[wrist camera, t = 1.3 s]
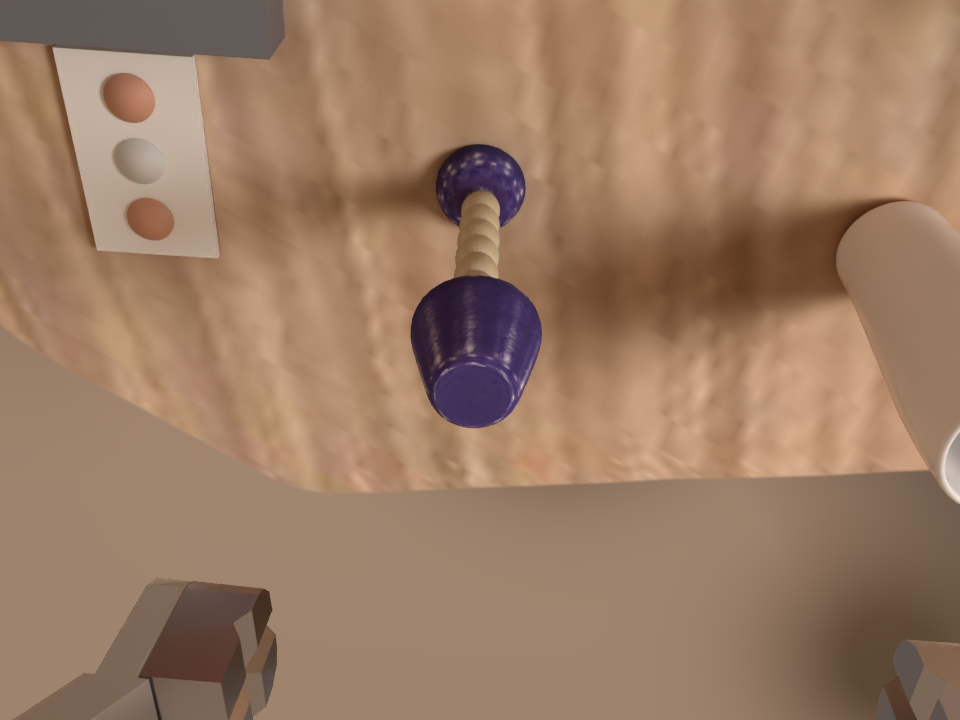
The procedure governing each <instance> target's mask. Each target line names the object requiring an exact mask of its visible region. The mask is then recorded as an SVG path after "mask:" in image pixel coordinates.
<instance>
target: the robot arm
mask: <svg viewBox="0 0 960 720" xmlns="http://www.w3.org/2000/svg"><path fill="white" fill-rule="evenodd" d="M271 612H272V605H271V599H270V593H269V591H267V590H265V589H262V588H252V587H243V586H233V585H225V584H215V583H206V582H196V581H193V582H189V581H179V580H170V579H161V578H156V579H155V580H153V581H152V582H151V583H150V584H148V585H147V586H146V587H145V589H144V591H143V593H142V594H141V596H140V598H139V599H138V601H137V603H136V605H135V606H134V608H133V610H132V612H131V613H130V615H129V616H128V618H127V620H126V622H125V623H124V625H123V627H122V628H121V630H120V632H119V634H118V635H117V637H116V639H115V640H114V642H113V644H112V646H111V647H110V649H109V651H108V652H107V654H106V656H105V658H104V659H103V661H102V663H101V664H100V666H99V668H98V669H97V671H96V673H95V674H87V673H84V674H82V675H80V676H79V677H77V678H76V679H74V680H73V681H71V682H70V683H68V684H67V685H65V686H64V687H62V688H61V689H59V690H57V691H56V692H54V693H53V694H51V695H50V696H48V697H47V698H45V699H44V700H42V701H41V702H39V703H37V704H36V705H35V706H33V707H31V708H30V709H28V710H27V711H25V712H24V713H22V714H21V715H19V716H18V717H16V718H15V719H13V720H253V717H254V716H255V715H256V714H257V713H259V712H260V711H261V710H262V709H263V708H265V707H266V705H267V702H268V699H269V696H270V693H271V690H272V687H273V682H274V676H275V671H276V665H277V643H276V635H275V633H274V632H273V631H272V630H271V629H270V628H269V627H268V626H267V623H268V620H269V617H270V615H271ZM893 663H894V666H895V668H896V671H897V673H898V676H897V677H896V678H894V679H893V680H891V681H890V682H888V683H887V684H885V685H884V686H883V689H882V692H881V696H880V699H879V702H878V719H877V720H960V644H957V643H943V642H930V641H916V640H915V641H914V640H904V641H903V642H902V643H901V644H900V645H899V646H898V648H897V651H896V653H895V656H894V658H893Z"/></svg>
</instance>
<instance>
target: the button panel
mask: <svg viewBox="0 0 960 720" xmlns="http://www.w3.org/2000/svg"><path fill="white" fill-rule="evenodd" d="M283 39H284V23H283V8H282V0H0V41H13V42H27V43H41V44H56V45H70V46H84V47H98V48H113V49H127V50H141V51H155V52H170V53H184V54H198V55H212V56H227V57H241V58H255V59H270V58H271V57H272V55H273V54H274V52H275V51H276V49H277V48H278V46H279V45H280V43H281V42H282V40H283Z"/></svg>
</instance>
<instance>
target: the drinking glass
mask: <svg viewBox="0 0 960 720" xmlns="http://www.w3.org/2000/svg"><path fill="white" fill-rule="evenodd" d="M836 268H837V273H838V275H839V278H840V280H841V282H842V284H843V285H844V287H845V289H846V291H847V292H848V294H849V296H850V298H851V300H852V303H853V305H854V307H855V310H856V312H857V315H858V317H859V319H860V322H861V324H862V327H863V329H864V331H865V334H866V336H867V339H868V341H869V344H870V346H871V349H872V351H873V353H874V356H875V358H876V361H877V363H878V366H879V368H880V371H881V373H882V376H883V378H884V381H885V383H886V386H887V388H888V391H889V393H890V396H891V398H892V401H893V403H894V405H895V407H896V410H897V412H898V414H899V416H900V418H901V420H902V422H903V424H904V426H905V428H906V430H907V432H908V434H909V436H910V438H911V439H912V441H913V443H914V445H915V447H916V448H917V450H918V452H919V453H920V455H921V457H922V458H923V460H924V461H925V463H926V465H927V466H928V468H929V469H930V471H931V472H932V474H933V475H934V477H935V478H936V480H937V481H938V483H939V485H940V486H941V488H942V489H943V491H944V492H945V493H946V494H947V495H948V496H949V497H950V498H951V499H952V500H953V501H955V502H956V503H958V504H959V505H960V234H959V233H958V232H957V231H956V230H955V229H954V228H953V227H952V225H951V224H950V223H949V222H948V221H947V220H946V219H945V217H944V216H943V215H941V214H940V213H939V212H938V211H937V210H935V209H934V208H932V207H930V206H928V205H925V204H922V203H918V202H912V201H898V202H892V203H887V204H884V205H881V206H878V207H876V208H874V209H872V210H870V211H868V212H867V213H865V214H863V215H862V216H861V217H859V218H858V219H857V220H856V221H855V222H854V223H853V224H852V225H851V226H850V227H849V228H848V229H847V231H846V232H845V234H844V235H843V237H842V239H841V241H840V243H839V246H838V249H837V254H836Z"/></svg>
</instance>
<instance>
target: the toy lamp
mask: <svg viewBox="0 0 960 720" xmlns="http://www.w3.org/2000/svg"><path fill="white" fill-rule="evenodd" d="M525 188H526V187H525V179H524V176H523V172H522V170H521V168H520V166H519V165H518V164H517V162H516V161H515V160H514V159H513V158H512V157H511V156H510V155H509V154H507V153H506V152H504V151H502V150H501V149H499V148H496V147H493V146H489V145H474V146H468V147H464V148H462V149H460V150H458V151H456V152H455V153H453V154H452V155H451V156H450V157H449V158H447V160H446V161H445V162H444V163H443V165H442V167H441V169H440V170H439V173H438V176H437V181H436V192H437V198H438V201H439V204H440V206H441V208H442V210H443V212H444V213H445V214H446V216H447V217H448V218H449V219H450V220H451V221H452V222H453V223H455V224H456V225H458V226H460V233H459V236H458V243H457V244H458V249H457V252H456V258H455V260H456V266H457V267H456V269H455V273H454V278H453V279H451V280H448V281H445V282H443V283H441V284H439V285H438V286H436V287H435V288H433V289H432V290H431V291H429V292H428V294H427V295H426V296H424V297H423V298H422V300H421V302H420V303H419V305H418V306H417V308H416V311H415V313H414V315H413V318H412V324H411V343H412V348H413V352H414V355H415V359H416V362H417V365H418V369H419V372H420V375H421V378H422V381H423V384H424V387H425V390H426V393H427V396H428V398H429V400H430V403H431V405H432V406H433V407H434V409H435V410H436V411H437V413H438V414H439V415H440V416H442V417H443V418H444V419H446V420H447V421H449V422H451V423H453V424H456V425H458V426H462V427H467V428H481V427H486V426H490V425H493V424H495V423H498V422H500V421H501V420H503V419H504V418H506V417H507V416H508V415H509V414H510V413H511V412H512V411H513V409H514V408H515V406H516V405H517V403H518V401H519V399H520V397H521V395H522V393H523V390H524V388H525V386H526V383H527V381H528V379H529V376H530V374H531V371H532V369H533V367H534V364H535V361H536V359H537V356H538V353H539V349H540V345H541V337H542V331H541V322H540V319H539V316H538V313H537V310H536V308H535V307H534V305H533V303H532V302H531V301H530V300H529V298H528V297H527V296H526V295H525V294H524V293H522V292H521V291H520V290H519V289H517V288H516V287H515V286H514V285H512V284H510V283H508V282H505V281H503V280H500V279H498V268H497V266H498V261H499V253H498V248H499V243H500V238H499V233H498V232H499V228H500V227H502V226H504V225H505V224H507V223H508V222H509V221H510V220H511V219H512V218H513V217H514V216H515V215H516V214H517V212H518V211H519V209H520V207H521V205H522V203H523V200H524V197H525Z"/></svg>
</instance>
